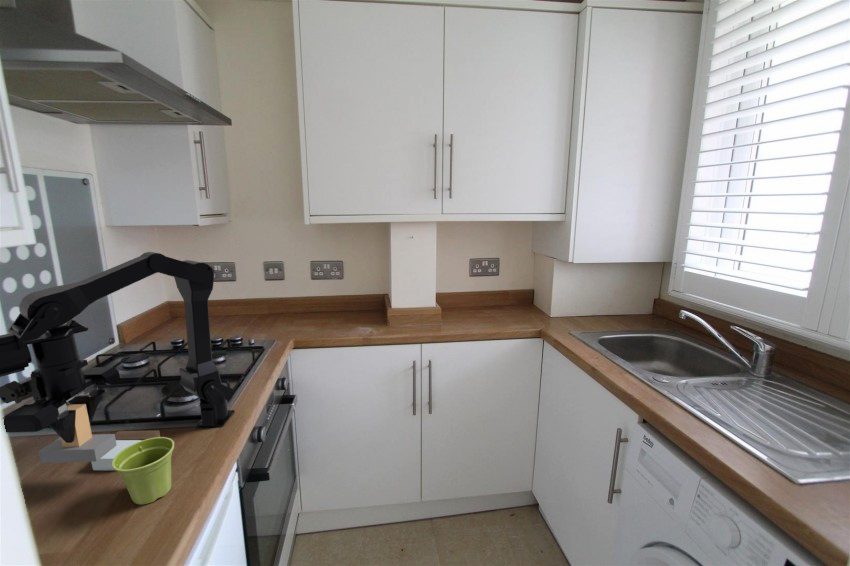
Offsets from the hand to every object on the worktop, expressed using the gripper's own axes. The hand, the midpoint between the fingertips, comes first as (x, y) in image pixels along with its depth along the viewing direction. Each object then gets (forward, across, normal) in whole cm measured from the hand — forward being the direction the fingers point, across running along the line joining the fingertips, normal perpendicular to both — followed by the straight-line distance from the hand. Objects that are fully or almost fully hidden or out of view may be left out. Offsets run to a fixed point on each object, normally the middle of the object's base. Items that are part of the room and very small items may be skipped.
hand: (77, 436), depth 74 cm
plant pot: (+10, +4, +14) cm, 18 cm away
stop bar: (+10, -11, +2) cm, 15 cm away
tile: (+10, -6, +2) cm, 12 cm away
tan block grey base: (+4, 0, 0) cm, 4 cm away
